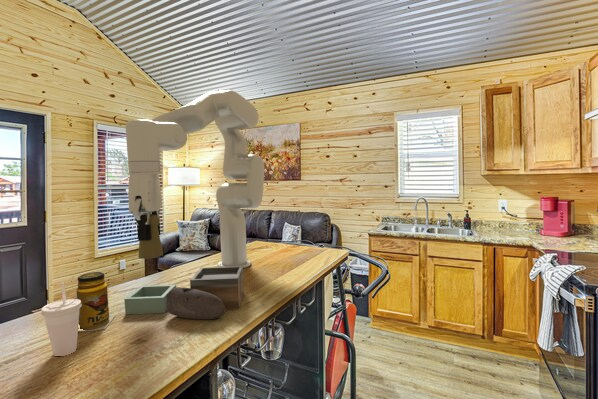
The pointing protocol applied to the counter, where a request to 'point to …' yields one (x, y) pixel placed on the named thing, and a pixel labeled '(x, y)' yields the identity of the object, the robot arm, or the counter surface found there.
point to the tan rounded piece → (151, 241)
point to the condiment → (93, 302)
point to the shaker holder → (148, 299)
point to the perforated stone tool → (194, 304)
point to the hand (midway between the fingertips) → (149, 237)
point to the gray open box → (221, 284)
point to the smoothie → (62, 324)
